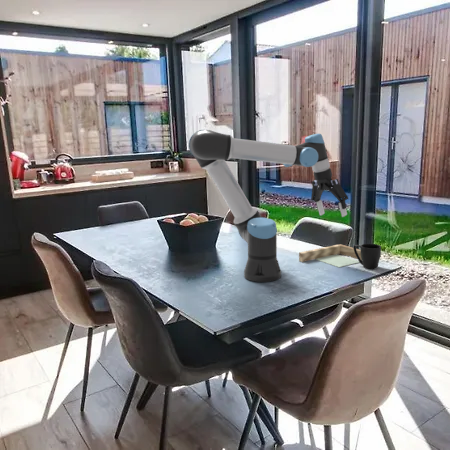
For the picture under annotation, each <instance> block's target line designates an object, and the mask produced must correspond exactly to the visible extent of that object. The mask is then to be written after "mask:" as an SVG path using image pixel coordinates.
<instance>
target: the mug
mask: <svg viewBox="0 0 450 450" xmlns="http://www.w3.org/2000/svg"><path fill="white" fill-rule="evenodd" d="M357 247H359V248H360V250H361V259H360V257H359V255H358V253H357V250H356V249H357ZM352 248H354V252H355V254H356V256H357V258H358V259H357V261H359V262H360V263H359V264H360V265H362V266H363V267H362V268H364V269H366V270H377V268H378V265H379V263H380V259H381V255H382V253H381V252H382V245H380V244H377V243H376V244H375V243H363V244H361V245H359V244H354V245H353V247H352Z"/></svg>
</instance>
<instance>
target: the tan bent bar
mask: <svg viewBox="0 0 450 450" xmlns="http://www.w3.org/2000/svg"><path fill="white" fill-rule="evenodd" d="M356 250H357V253H358V255H359V257H360V259H361V248H360V249H359V248H356ZM335 254H337V255H343V256H345V257H346V256H347V257H349V256H351V257H350V258H353V259H356V260H358V258H357V256H356V254H355V252H354V248H353V247H352V246H348V245H344V244H341V243H340V244H334V245H330V246H324V247H321V248H320V247H319V248H315V249H314V248H313V249H309V250H306V251H305V250H304V251H300V252H298V261H299V262H301V263H304V262H308V261H312V260H315V259H317V258H322V257H326V256H331V255H335Z"/></svg>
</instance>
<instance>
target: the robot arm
mask: <svg viewBox="0 0 450 450" xmlns="http://www.w3.org/2000/svg"><path fill="white" fill-rule="evenodd" d="M325 144H326V143H325V141H324V137H323V135H322V134H321V133H314V134H311V135H310V134H309V135H308V136H305V138H304V142H303V143H301V144H296V145H293V144H292V145H291V144H286V143H285V144H284V143H275V142H274V143H273V142H267V141H260V140H254V139H253V140H250V139H243V138H235V137H233V136H232V135H231V134H226V133H225V134H224V133H221V132H217V131H214V130H210V129H200V130H198V131H195V132H194V133H192V135H191V136H190V138H189V141H188V148H189V149H188V150H189V151H190V153H191V154H190V155H192V156H194V158H195V160H196V162H197V163H198V165H199V167H200V168H201V169H203V170H206V171H207V173H208V175H209V177H210V178H211V180H212V181H213V184H215V187H216V188H217V190H218V191H219V193H220V195H221V196H222V198H223V200H224V201H225V203H226V205H227V207H228V209H229V210H230V212H231V213H232V215H233V217H234V219H233V224H234V226H235V227H236V229H237V232H238V235H239V236H240V238H241V239H242V240H243V241H245V242H246V243H247V261H246V264H245V267H244V271H243V277H244V278H245V279H246V280H248V281H250V282H257V283H267V282H274V281H277V280H279V279H280V278H281V277H282V271H281V268H280V263H279V262H278V261H279V260H278V257H277V247H278V246H277V244H278V243H277V239H278V238H277V234H278V233H277V232H278V227H277V223H276V221H275V220H273V219H271V218H267V217H263V216H262V215H261V214H260V211H259V210H258V208H256V207H252V205H251V203H250V201H249V200H248V198H247V197H246V195H245V192H244V191H243V189H242V188H241V186H240V184H239V183H238V180H237V179H236V177H235V175H234V173H233V172H232V170H231V168H230V166H229V165H228V163H227V161H229V160H230V159H237V160H246V161H247V160H248V161H253V162H254V161H256V162H264V163H265V162H266V163H272V164H273V163H275V164H280V165H281V164H282V165H283V166H284V168H289V167H293V166H298V167H305V168H309V167H311V168H312V172H313V177H314V180H312V182H311V185H312V186H311V198H310V199H311V201H314V203H315V206H316V208H317V210H318V214H319V216H321V217H322V216H323V215H324V214H325V213H326V212H325V208H324V205H323V201H322V200H321V198H322V195H323V193H324V191H327V192H329V193H331V194H332V195H333V196H334V197H335V199H337V201H338V207H339V211H340V214H341V218H344V217H346V216H347V215H348V212H347V204H346V201H347V200H349V196H348V195H347V193H346V192H345V190H344V188H343V187H342V186H341V183H340V182H339V179H338V178H336V179H333V178H332V176H333V172H332V169H331V168H330V167H331V165H330V160H329V157H328V152H327V149H326V145H325Z"/></svg>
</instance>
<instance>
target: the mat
mask: <svg viewBox="0 0 450 450" xmlns="http://www.w3.org/2000/svg"><path fill="white" fill-rule="evenodd" d="M314 260H315V261H318V262H321V263H324V264H327V265H330V266H333V267H336V268H343V267H348V266H351V265H356V264H361V263H360V262H359V260H357V259H356V260H355V259H354V258H353V259H352V258H351V257H346V256H344V255H343V256H342V255H341V254H335V255H331V256H326V257H322V258H317V259H314Z"/></svg>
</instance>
